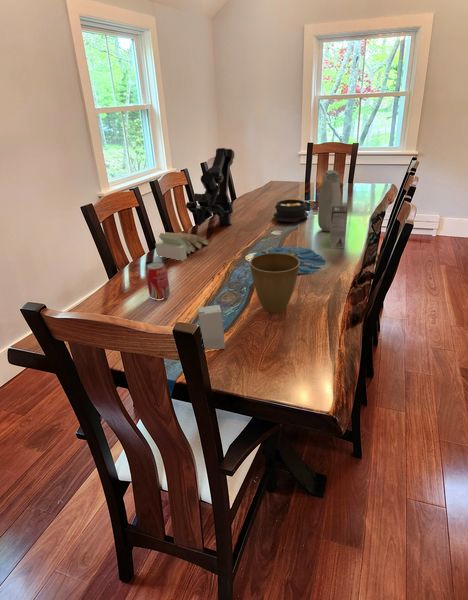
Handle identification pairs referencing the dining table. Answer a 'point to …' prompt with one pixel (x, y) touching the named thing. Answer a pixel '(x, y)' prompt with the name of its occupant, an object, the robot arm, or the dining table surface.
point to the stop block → (171, 250)
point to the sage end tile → (174, 240)
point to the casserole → (290, 210)
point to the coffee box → (338, 226)
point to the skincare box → (211, 327)
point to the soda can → (157, 280)
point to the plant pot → (274, 279)
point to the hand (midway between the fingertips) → (198, 225)
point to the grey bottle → (328, 198)
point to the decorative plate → (300, 258)
